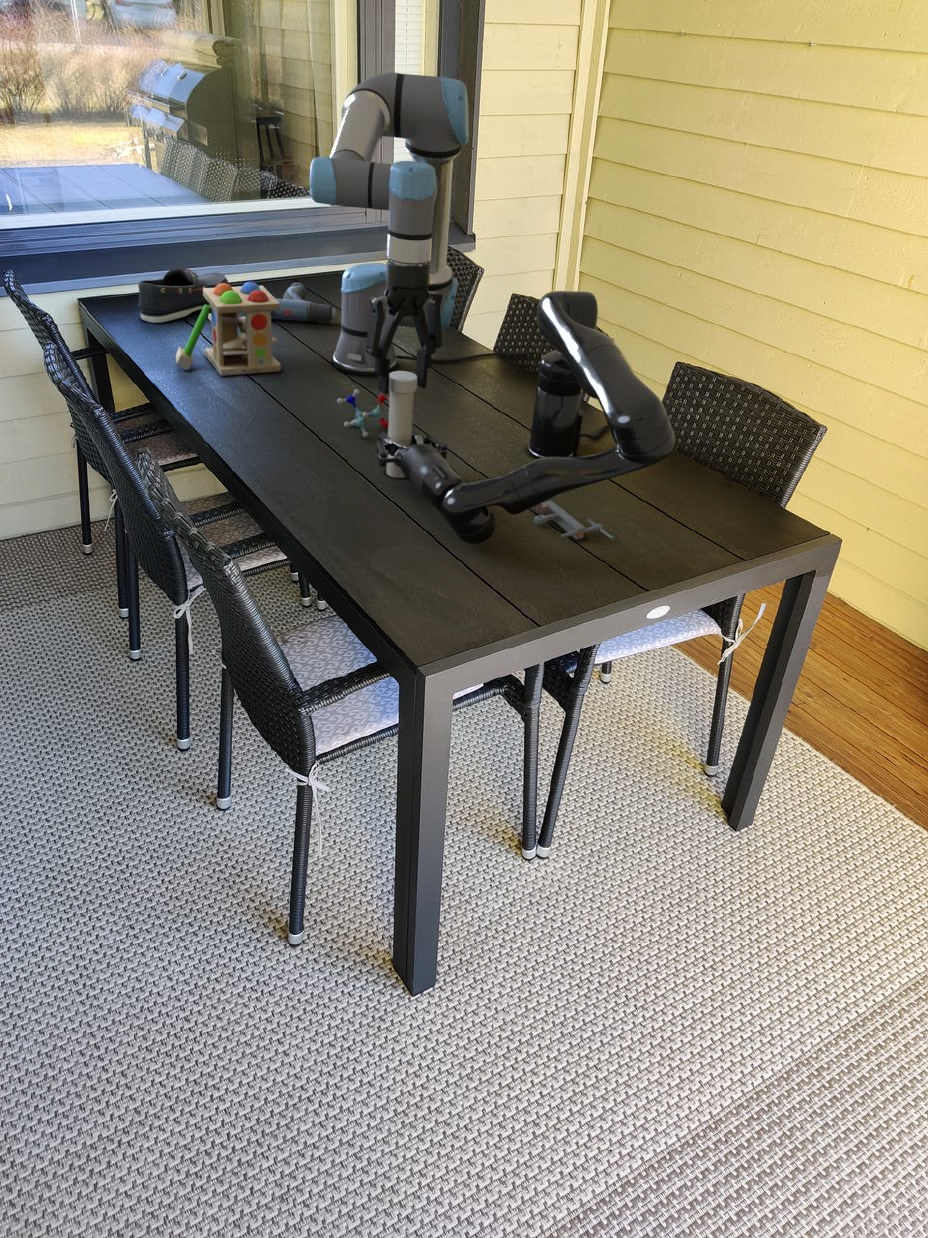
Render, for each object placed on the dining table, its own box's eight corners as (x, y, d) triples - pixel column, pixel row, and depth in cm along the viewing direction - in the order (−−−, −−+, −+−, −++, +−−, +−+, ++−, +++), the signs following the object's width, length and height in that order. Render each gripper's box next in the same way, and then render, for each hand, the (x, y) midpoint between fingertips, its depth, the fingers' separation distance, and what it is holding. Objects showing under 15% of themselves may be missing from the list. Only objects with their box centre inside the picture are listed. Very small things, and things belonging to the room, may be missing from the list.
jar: (388, 466, 193) (392, 372, 182) (411, 469, 193) (416, 375, 182) (384, 476, 189) (388, 381, 178) (408, 479, 189) (413, 383, 178)
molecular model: (383, 429, 198) (367, 381, 197) (344, 444, 202) (327, 397, 200) (405, 426, 209) (389, 380, 207) (367, 440, 212) (351, 395, 211)
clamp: (523, 504, 179) (568, 495, 184) (522, 515, 180) (566, 506, 185) (570, 543, 169) (616, 532, 173) (569, 554, 170) (614, 543, 174)
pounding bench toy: (183, 379, 220) (176, 299, 210) (169, 357, 231) (162, 280, 221) (282, 371, 230) (280, 294, 220) (264, 350, 240) (262, 276, 230)
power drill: (344, 304, 276) (335, 327, 259) (277, 298, 275) (264, 321, 258) (344, 285, 273) (335, 306, 256) (277, 279, 272) (264, 300, 255)
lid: (389, 381, 184) (390, 369, 182) (418, 384, 184) (419, 372, 182) (385, 391, 179) (386, 379, 178) (414, 394, 179) (415, 382, 178)
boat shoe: (248, 301, 272) (246, 262, 267) (158, 325, 248) (153, 283, 243) (214, 293, 278) (211, 255, 272) (123, 315, 254) (117, 274, 248)
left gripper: (445, 251, 176) (437, 374, 189) (345, 259, 166) (343, 389, 179) (469, 262, 171) (458, 388, 184) (367, 271, 161) (363, 403, 174)
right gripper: (392, 496, 176) (358, 456, 189) (463, 486, 182) (427, 448, 194) (393, 458, 172) (359, 420, 184) (467, 449, 178) (429, 412, 190)
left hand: (402, 388), depth 181 cm, fingers open, 7 cm apart
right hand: (394, 434), depth 189 cm, fingers closed on jar, 4 cm apart
